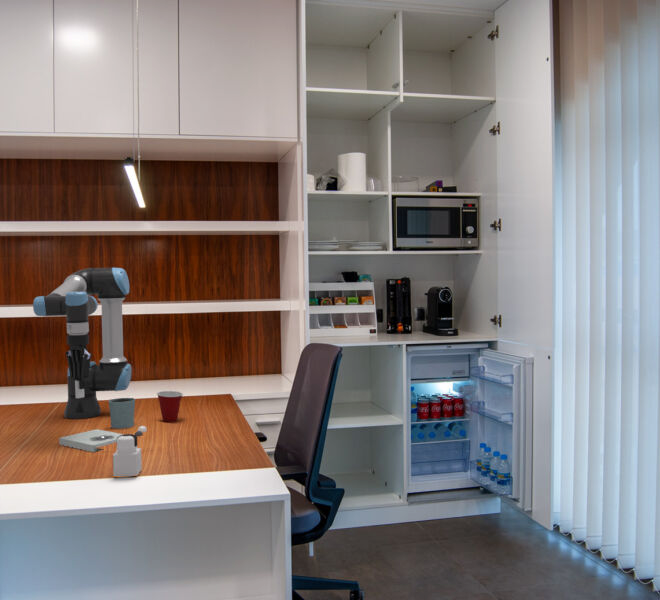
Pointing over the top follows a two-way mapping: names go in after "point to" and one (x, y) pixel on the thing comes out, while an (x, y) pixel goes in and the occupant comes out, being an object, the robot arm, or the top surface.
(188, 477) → the top surface
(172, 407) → the plastic cup
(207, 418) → the top surface
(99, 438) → the steel ball
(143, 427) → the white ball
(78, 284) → the robot arm
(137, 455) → the medicine bottle
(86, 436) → the board
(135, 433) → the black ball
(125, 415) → the grey cup
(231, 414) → the top surface
